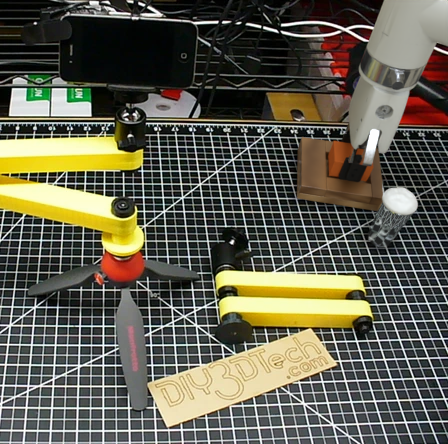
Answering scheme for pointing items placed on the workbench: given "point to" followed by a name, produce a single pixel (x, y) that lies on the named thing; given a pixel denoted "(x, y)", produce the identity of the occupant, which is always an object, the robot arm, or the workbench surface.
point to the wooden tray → (334, 179)
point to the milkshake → (391, 215)
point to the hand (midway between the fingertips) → (348, 166)
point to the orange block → (343, 159)
